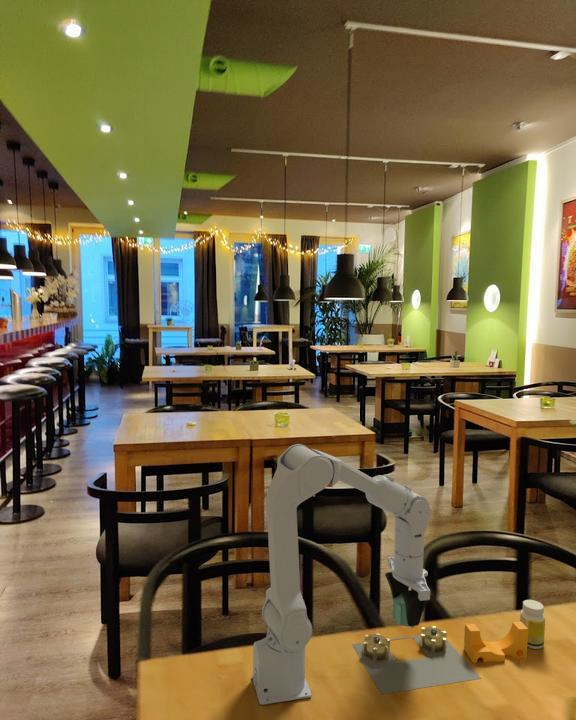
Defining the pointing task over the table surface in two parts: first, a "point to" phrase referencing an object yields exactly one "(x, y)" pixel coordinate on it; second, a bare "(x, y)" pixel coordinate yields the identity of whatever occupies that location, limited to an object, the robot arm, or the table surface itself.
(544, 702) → the table surface
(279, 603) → the robot arm
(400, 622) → the teal gear
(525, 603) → the supplement bottle
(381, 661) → the gear board
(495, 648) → the pipe clamp
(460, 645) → the table surface
